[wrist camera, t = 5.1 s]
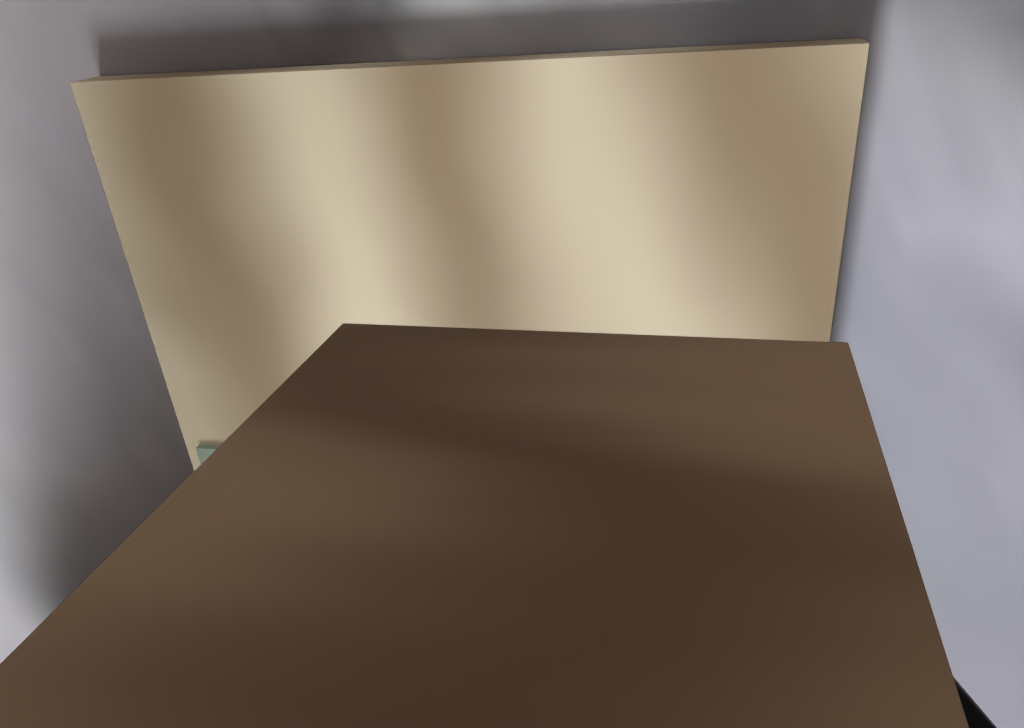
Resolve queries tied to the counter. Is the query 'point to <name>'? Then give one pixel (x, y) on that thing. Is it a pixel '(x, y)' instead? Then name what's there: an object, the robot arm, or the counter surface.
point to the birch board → (474, 202)
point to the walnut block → (515, 551)
